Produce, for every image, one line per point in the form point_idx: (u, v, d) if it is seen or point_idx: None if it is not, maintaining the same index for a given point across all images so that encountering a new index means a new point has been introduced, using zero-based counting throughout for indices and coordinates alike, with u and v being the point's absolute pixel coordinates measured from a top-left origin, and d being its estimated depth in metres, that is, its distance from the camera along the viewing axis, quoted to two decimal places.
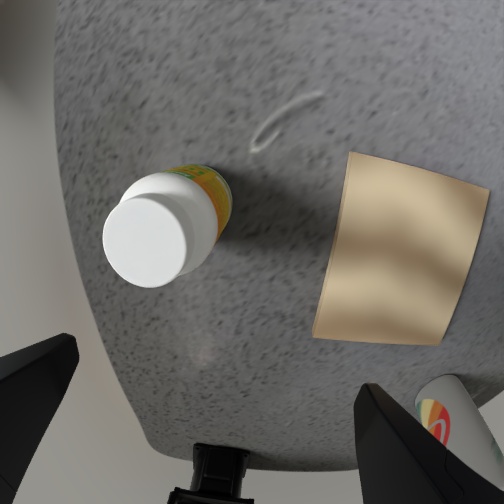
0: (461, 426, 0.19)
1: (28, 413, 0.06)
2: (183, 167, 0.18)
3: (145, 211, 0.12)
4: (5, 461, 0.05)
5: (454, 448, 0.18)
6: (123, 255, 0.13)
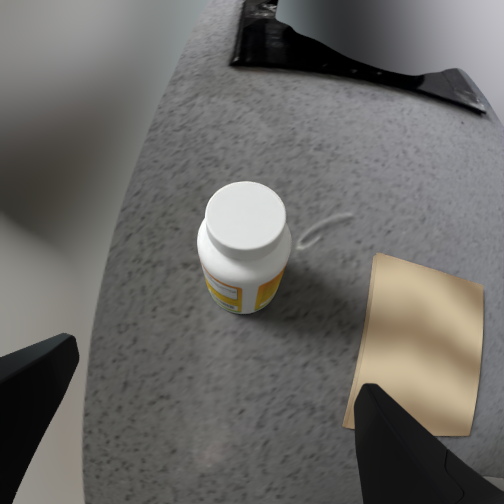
0: None
1: (28, 413, 0.06)
2: None
3: (256, 190, 0.16)
4: (5, 461, 0.05)
5: None
6: (224, 218, 0.15)
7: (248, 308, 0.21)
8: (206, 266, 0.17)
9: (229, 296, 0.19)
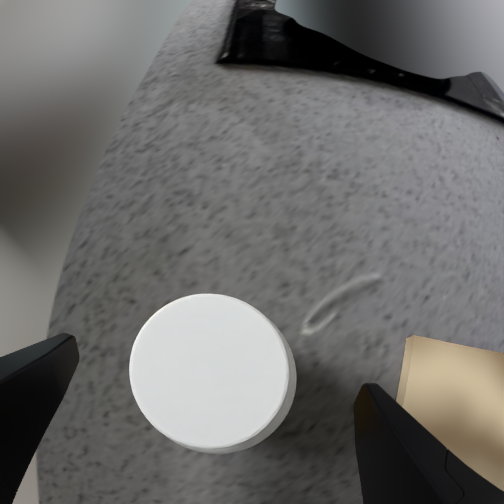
0: None
1: (28, 412, 0.06)
2: None
3: (229, 316, 0.08)
4: (5, 461, 0.05)
5: None
6: (164, 381, 0.07)
7: None
8: None
9: None
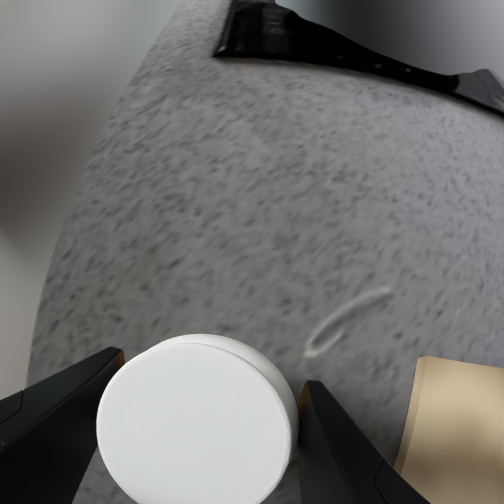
0: None
1: (78, 435, 0.06)
2: None
3: (215, 373, 0.06)
4: (54, 489, 0.05)
5: None
6: (137, 449, 0.05)
7: None
8: None
9: None
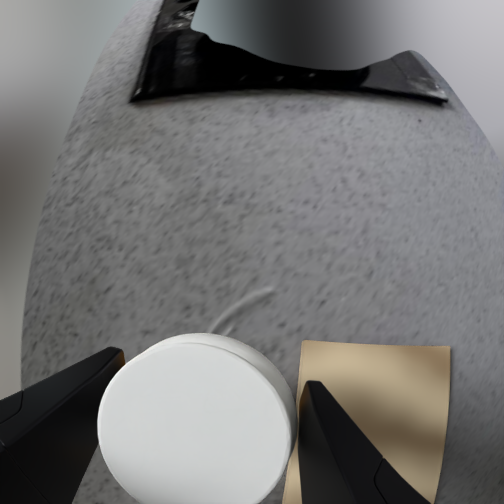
0: None
1: (78, 435, 0.06)
2: None
3: (216, 373, 0.06)
4: (54, 489, 0.05)
5: None
6: (138, 448, 0.05)
7: None
8: None
9: None
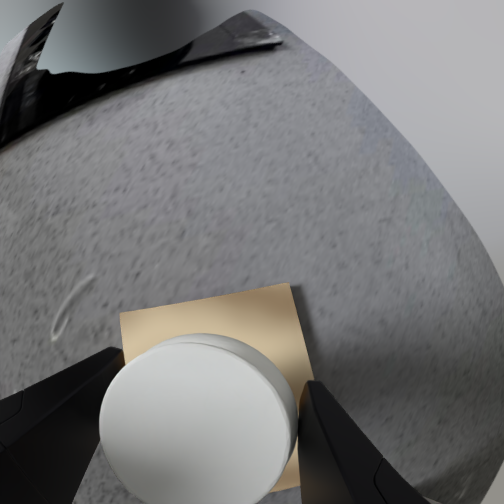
0: None
1: (78, 435, 0.06)
2: None
3: (216, 372, 0.06)
4: (55, 489, 0.05)
5: None
6: (139, 447, 0.05)
7: None
8: None
9: None
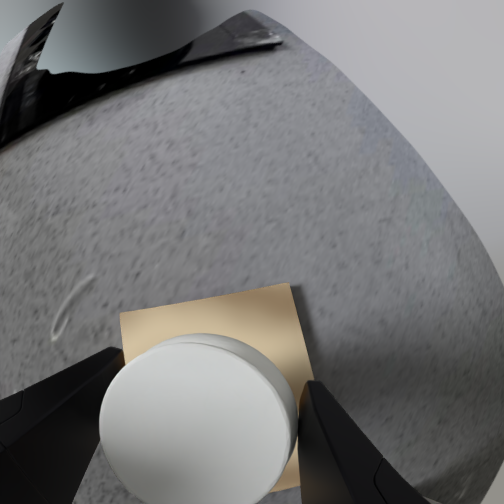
0: None
1: (78, 435, 0.06)
2: None
3: (216, 372, 0.06)
4: (55, 489, 0.05)
5: None
6: (139, 447, 0.05)
7: None
8: None
9: None
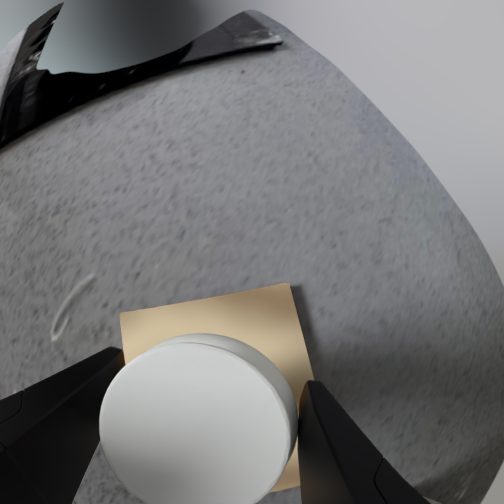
0: None
1: (78, 435, 0.06)
2: None
3: (216, 372, 0.06)
4: (55, 489, 0.05)
5: None
6: (139, 447, 0.05)
7: None
8: None
9: None
